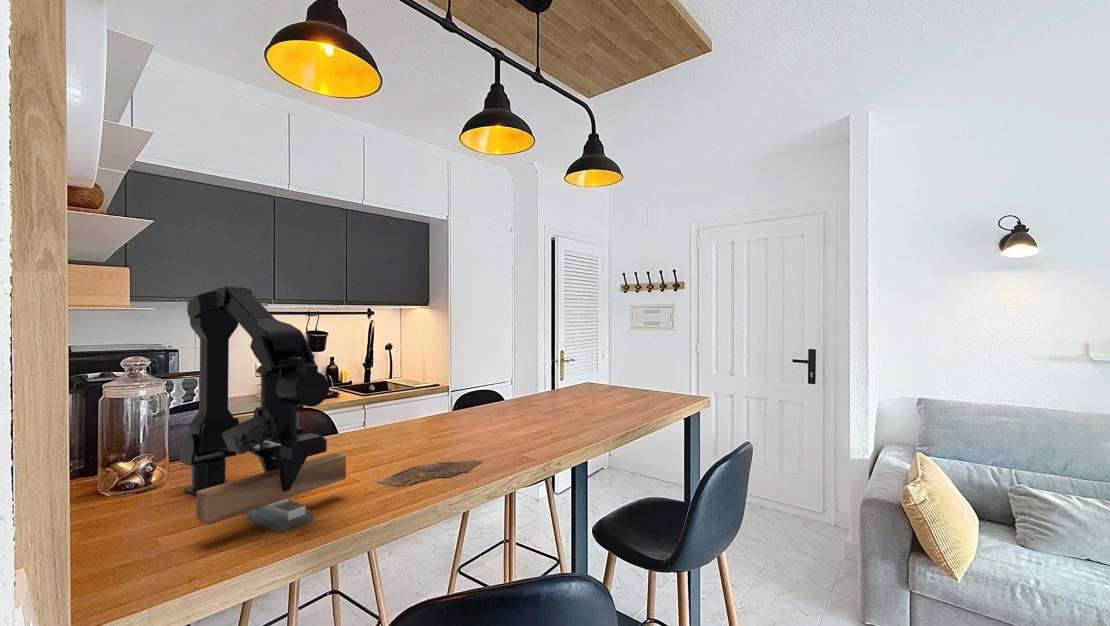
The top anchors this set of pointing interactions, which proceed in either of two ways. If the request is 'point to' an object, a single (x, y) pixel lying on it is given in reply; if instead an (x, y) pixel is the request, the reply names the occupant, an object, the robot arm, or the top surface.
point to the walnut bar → (266, 489)
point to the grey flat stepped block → (280, 515)
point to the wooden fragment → (428, 472)
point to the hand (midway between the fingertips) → (279, 489)
